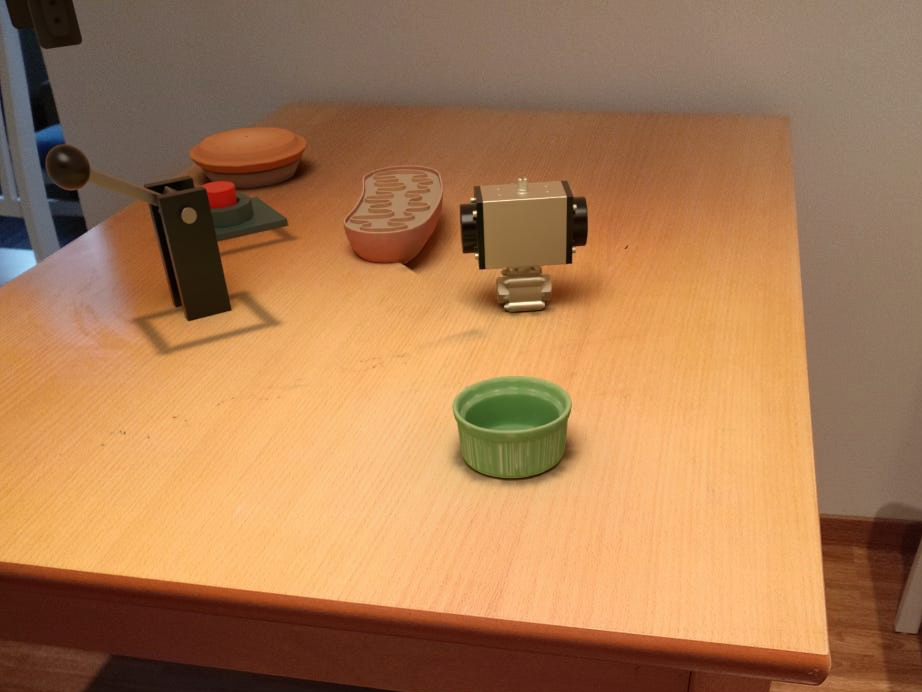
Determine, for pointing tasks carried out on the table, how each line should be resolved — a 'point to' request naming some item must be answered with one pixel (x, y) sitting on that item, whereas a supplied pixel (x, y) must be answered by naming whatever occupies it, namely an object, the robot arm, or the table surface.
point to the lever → (90, 175)
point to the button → (221, 194)
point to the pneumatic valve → (523, 236)
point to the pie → (250, 156)
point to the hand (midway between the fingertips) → (47, 36)
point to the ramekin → (512, 425)
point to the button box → (245, 218)
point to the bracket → (189, 248)
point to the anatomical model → (395, 213)
